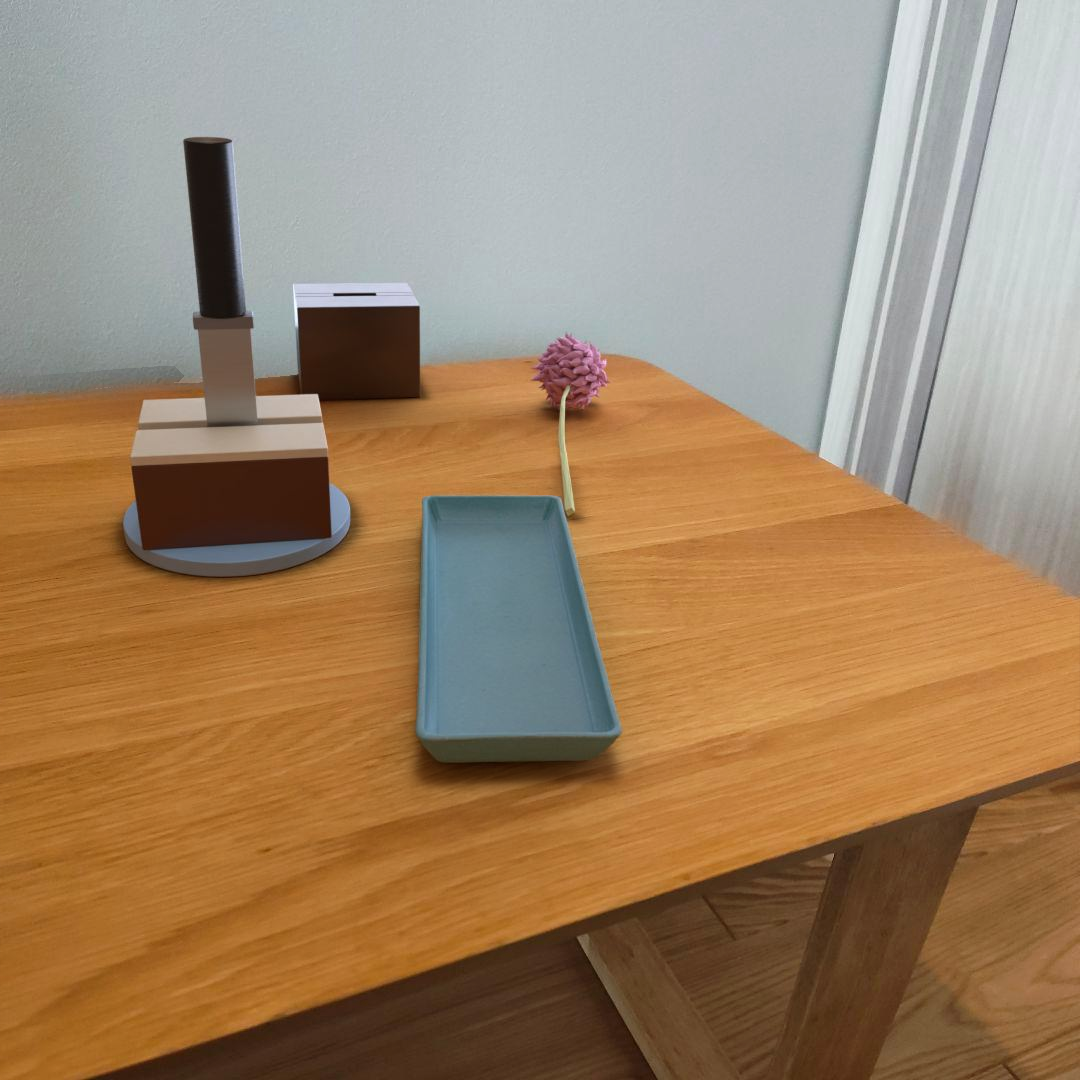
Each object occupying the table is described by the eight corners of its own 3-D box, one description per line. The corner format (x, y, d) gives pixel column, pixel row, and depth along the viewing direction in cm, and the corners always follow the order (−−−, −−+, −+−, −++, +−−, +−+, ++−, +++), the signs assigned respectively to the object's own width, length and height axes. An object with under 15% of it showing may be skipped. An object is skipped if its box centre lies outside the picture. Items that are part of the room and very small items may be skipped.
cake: (113, 585, 61) (96, 473, 57) (134, 486, 73) (121, 389, 69) (360, 567, 64) (357, 460, 61) (341, 475, 76) (338, 382, 73)
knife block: (302, 401, 89) (297, 307, 86) (297, 371, 96) (292, 283, 92) (420, 397, 92) (420, 305, 88) (407, 368, 98) (407, 282, 95)
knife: (212, 521, 66) (173, 141, 56) (213, 503, 69) (176, 135, 58) (267, 517, 67) (240, 143, 57) (267, 500, 69) (240, 137, 59)
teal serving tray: (421, 522, 70) (421, 488, 69) (558, 523, 71) (561, 489, 70) (414, 783, 47) (414, 738, 46) (619, 779, 48) (624, 735, 46)
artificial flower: (631, 551, 74) (609, 385, 94) (624, 467, 70) (602, 312, 90) (536, 561, 74) (534, 393, 94) (524, 477, 70) (524, 321, 90)
